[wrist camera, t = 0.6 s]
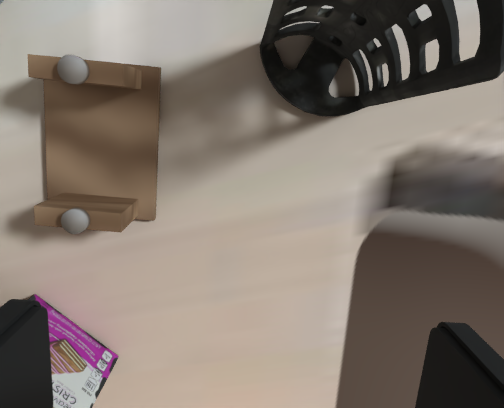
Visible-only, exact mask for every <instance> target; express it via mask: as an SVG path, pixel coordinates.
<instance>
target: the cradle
mask: <svg viewBox="0 0 504 408" xmlns="http://www.w3.org/2000/svg"><path fill="white" fill-rule="evenodd" d="M28 73H29V77H33V78H40V79H44V108H45V139H46V169H47V200H46V201H44V202H42V203H40V204H38V205H35V206H34V218H35V225H41V226H53V227H63V228H64V229H65V230H66V231H67V232H69V233H71V234H79V233H81V232H83V231H84V230H85V229H88V230H100V231H112V232H122V231H123V230H124V229H125V228H126V227H127V226H128V225H129V224H130V223H131V222H132V221H133V220H134V219H140V220H152V221H154V220H155V218H156V193H157V165H158V138H159V110H160V83H161V68H159V67H151V66H141V65H131V64H121V63H111V62H101V61H91V60H83V59H82V58H80V57H77V56H74V55H65V56H63V57H62V58H61V57H51V56H40V55H30V54H28Z"/></svg>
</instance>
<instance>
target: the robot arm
mask: <svg viewBox="0 0 504 408" xmlns="http://www.w3.org/2000/svg"><path fill="white" fill-rule="evenodd" d="M0 408H53V386H52V370H51V355H50V339H49V324H48V312H47V309H46V308H45V307H41V304H40V302H39V301H37V300H19V299H11V300H9V301H8V302H7V303H5V304H4V305H3V306H2V307H0ZM415 408H504V359H503V358H502V357H501V356H499V355H498V354H497V353H496V352H495V351H494V350H493V349H492V348H491V347H490V346H489V345H488V344H487V343H486V342H485V341H484V340H483V339H482V338H481V337H480V336H479V335H478V334H477V333H476V332H475V331H474V330H473V329H472V328H471V327H470V326H469V325H467V324H465V323H450V322H441V323H439V324H438V326H437V328H433V329H432V330H431V332H430V335H429V340H428V345H427V350H426V355H425V360H424V366H423V371H422V376H421V381H420V386H419V391H418V396H417V401H416V407H415Z"/></svg>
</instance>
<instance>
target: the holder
mask: <svg viewBox="0 0 504 408" xmlns="http://www.w3.org/2000/svg"><path fill="white" fill-rule="evenodd" d="M423 4H427V5H428V7H429V9H430V10H431V14H432V16H431V17H429V18H427V19H426V20H424V21H421V20H420V19H419V17H418V15H417V13H416V11H415V10H416V9H417V8H419V7H420V6H422V5H423ZM477 4H478V9H479V14H480V44H479V47H478V50H477V52H476V55H475V57H472V58H469V59H467V60H464V61H460V56H459V29H458V20H457V15H456V10H455V6H454V1H453V0H274V1H273V4H272V8H271V11H270V15H269V18H268V21H267V25H266V28H265V32H264V35H263V38H262V41H261V44H260V54H261V59H262V63H263V66H264V68H265V71H266V73H267V76H268V78H269V80H270V81H271V83H272V85H273V86H274V88H275V89H276V90H277V91H278V93H279V94H280V95H281V96H282V97H283V98H284V99H285V100H287V101H288V102H289V103H291V104H292V105H294V106H295V107H297V108H299V109H301V110H303V111H304V112H308V113H311V114H315V115H319V116H340V115H345V114H349V113H352V112H355V111H358V110H360V109H363V108H365V107H368V106H373V105H379V104H383V103H388V102H393V101H397V100H402V99H406V98H411V97H415V96H420V95H425V94H430V93H434V92H440V91H444V90H449V89H451V88H458V87H463V86H467V85H472V84H476V83H481V82H485V81H490V80H493V79H495V78H497V77H498V76H499V75H500V74H501V73H502V72H503V71H504V0H477ZM324 5H327V6H332V7H334V8H332V9H323V8H321V7H322V6H324ZM303 6H307V8H306V9H303V10H301V11H298V12H295V13H292V14H288V15H285V14H286V13H288V12H290V11H292V10H294V9H296V8H299V7H303ZM284 15H285V16H284ZM304 21H313V22H320V23H302V24H295V25H292V26H289V27H286V28H283V27H285V26H287V25H289V24H293V23H297V22H304ZM395 24H397V25H398V26H399V27H400V28H401V29H402V30H403V33H404V36H405V38H406V41H407V45H408V49H409V55H410V74H409V77H408V78H407V79H405V80H403V81H402V74H401V61H400V54H399V49H398V44H397V41H396V38H395V35H394V33H393V30H392V28H391V27H392V26H393V25H395ZM281 28H283V29H281ZM280 29H281V30H280ZM292 35H309V36H312V37H314V39H313V41H312V43H311V45H310V47H309V48H308V50H307V51H306V53H305V55H304V56H303V58H302V60H301V61H300V63H299V64H298V67H297V68H296V69H294V70H289V69H287V68H286V67H285V66H284V65H283V63H282V61H281V58H280V56H279V54H278V52H277V49H276V47H275V44H274V42H276V41H277V40H279V39H282V38H284V37H287V36H292ZM374 38H376V39H378V40H379V42H380V44H381V45H382V46H380V47H377V46H376V44H375V43H374V41H373V39H374ZM434 39H437V40H438V43H439V62H438V64H437V67H436V69H435V70H433V71H430V72H427V71H426V61H425V46H426V43H428V42H430V41H432V40H434ZM359 49H360V50H362V51H363V53H364V54H365V56H366V58H367V60H368V63H369V66H370V69H371V73H372V80H373V88H372V91H370V90H369V82H368V74H367V70H366V67H365V63H364V60H363V58H362V56H361V54H360V51H359ZM346 57H347V59H348V60H349V61H350V63H351V64H352V66H353V68H354V70H355V72H356V75H357V78H358V83H359V95H358V96H354V97H341V98H334V97H332V96H331V95H330V93H329V85H330V83H331V81H332V79H333V78H334V76H335V74H336V72H337V70H338V68H339V66H340V64H341V62H342V60H343V59H344V58H346ZM384 63H386V64H387V65H388V71H389V81H388V84H387V86H385V87H384V83H383V73H382V64H384Z"/></svg>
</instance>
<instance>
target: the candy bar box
mask: <svg viewBox="0 0 504 408" xmlns="http://www.w3.org/2000/svg"><path fill="white" fill-rule="evenodd" d="M28 300H37V301H39V302H40V304H41V307H45V308H46V309H47V312H48V324H49V339H50V355H51V370H52V386H53V408H92V406H93V404H94V403H95V401H96V399H97V397H98V395H99V393H100V391H101V389H102V388H103V386H104V384H105V382H106V380H107V378H108V376H109V374H110V373H111V371H112V369H113V367H114V365H115V363H116V361H117V359H118V355H116V354H115V353H114V352H112V351H111V350H110V349H108V348H107V347H105V346H104V345H103V344H101V343H100V342H99V341H97V340H96V339H95V338H93V337H92V336H91V335H89V334H88V333H86V332H85V331H84V330H82V329H81V328H80V327H79V326H77V325H76V324H74V323H73V322H72V321H70V320H69V319H68V318H66V317H65V316H64V315H62V314H61V313H60V312H58V311H57V310H56V309H54V308H53V307H52V306H50V305H49V304H48V303H46V302H45V301H44V300H42V299H41V298H40V297H38V296H37V295H36V294H35V295H33V296H32V297H31V298H29V299H28Z"/></svg>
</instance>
